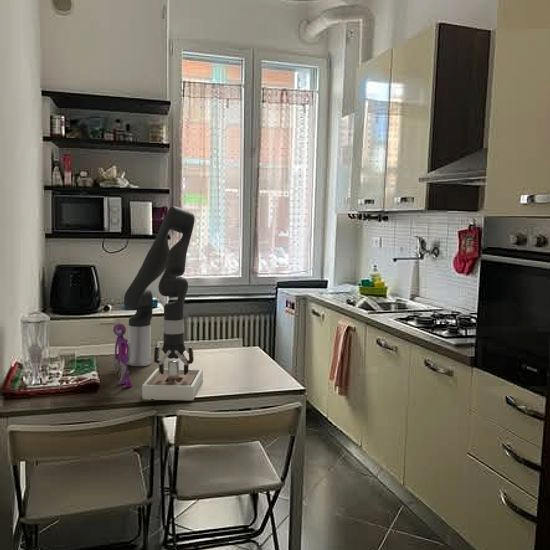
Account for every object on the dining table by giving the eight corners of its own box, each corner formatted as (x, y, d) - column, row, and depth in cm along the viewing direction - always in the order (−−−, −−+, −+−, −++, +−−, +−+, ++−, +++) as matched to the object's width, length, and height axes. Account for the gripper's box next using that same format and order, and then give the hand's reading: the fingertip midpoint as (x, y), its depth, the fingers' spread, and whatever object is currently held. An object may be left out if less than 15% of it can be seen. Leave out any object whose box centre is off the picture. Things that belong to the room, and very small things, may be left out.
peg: (167, 388, 209) (167, 362, 208) (169, 385, 213) (169, 359, 212) (178, 389, 209) (177, 362, 208) (180, 385, 213) (180, 359, 212)
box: (142, 399, 200) (142, 385, 200) (156, 380, 222) (156, 368, 222) (193, 400, 200) (193, 386, 199) (202, 381, 222) (202, 369, 221)
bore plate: (150, 393, 204) (150, 384, 204) (159, 381, 218) (159, 373, 218) (189, 393, 204) (189, 385, 203) (195, 382, 218) (195, 374, 217)
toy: (103, 382, 219) (102, 321, 216) (121, 379, 223) (120, 319, 220) (119, 393, 206) (118, 328, 204) (137, 390, 210) (136, 326, 208)
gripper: (151, 332, 205) (152, 376, 207) (191, 333, 205) (191, 377, 206) (156, 328, 212) (157, 370, 214) (194, 329, 212) (194, 371, 214)
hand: (173, 374), depth 210 cm, fingers open, 8 cm apart
